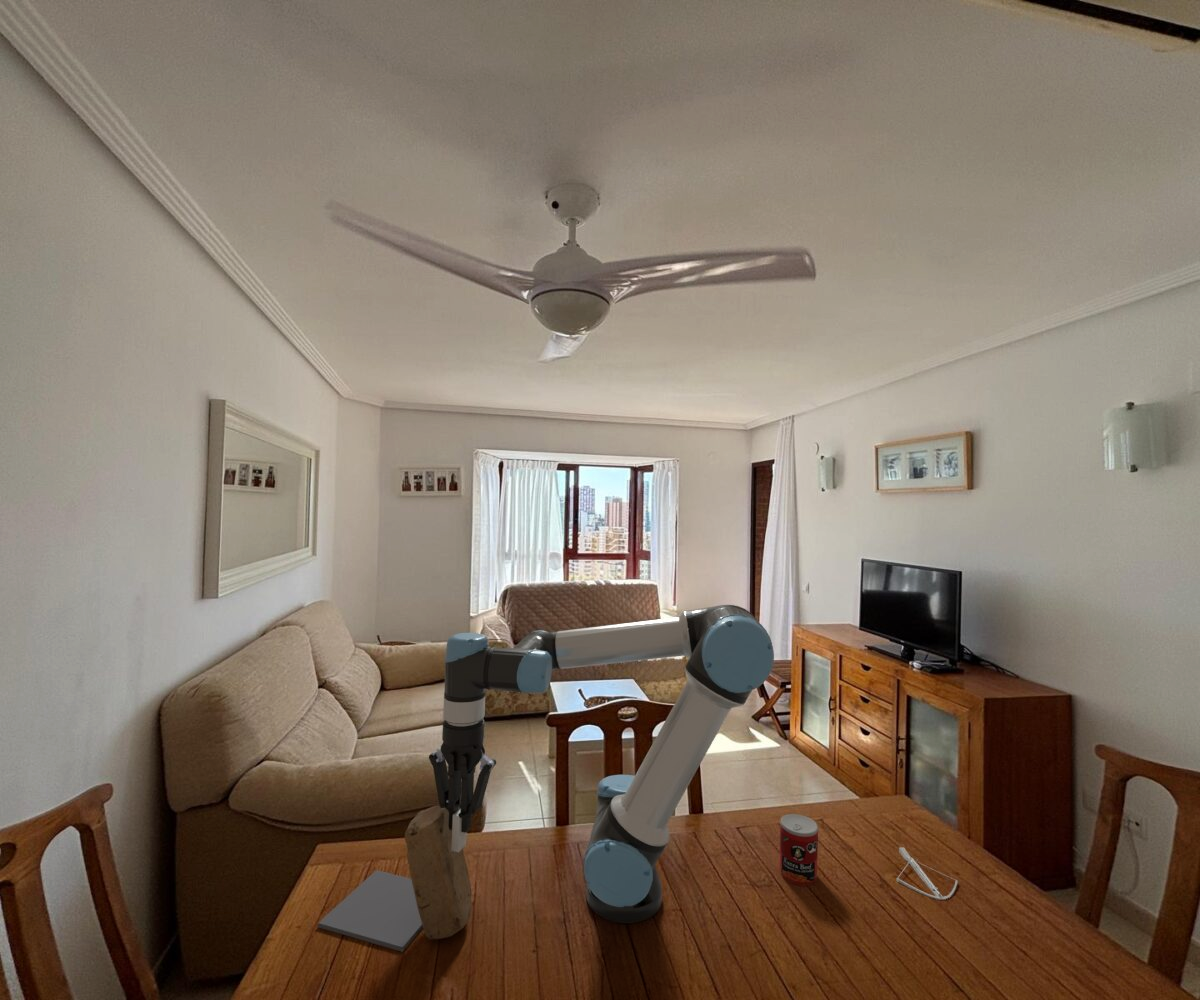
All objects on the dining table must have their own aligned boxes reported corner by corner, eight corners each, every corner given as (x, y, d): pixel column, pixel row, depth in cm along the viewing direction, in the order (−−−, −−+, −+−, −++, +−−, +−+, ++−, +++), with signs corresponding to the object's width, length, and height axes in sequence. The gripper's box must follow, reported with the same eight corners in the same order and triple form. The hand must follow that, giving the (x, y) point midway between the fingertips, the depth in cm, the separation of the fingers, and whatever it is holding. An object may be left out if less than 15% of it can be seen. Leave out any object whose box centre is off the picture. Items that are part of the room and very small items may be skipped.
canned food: (778, 880, 120) (779, 828, 120) (781, 859, 127) (782, 810, 128) (816, 890, 117) (817, 837, 117) (817, 868, 125) (818, 818, 125)
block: (462, 938, 99) (436, 824, 100) (421, 947, 99) (395, 833, 100) (479, 897, 110) (455, 794, 111) (443, 905, 110) (419, 803, 111)
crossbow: (972, 907, 115) (973, 897, 115) (910, 904, 116) (910, 895, 116) (928, 854, 131) (929, 845, 131) (873, 852, 132) (874, 843, 132)
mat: (452, 892, 114) (452, 888, 114) (402, 951, 98) (402, 947, 98) (376, 873, 119) (376, 870, 119) (318, 927, 103) (318, 922, 103)
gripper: (505, 716, 107) (500, 843, 106) (444, 707, 110) (439, 829, 110) (486, 731, 99) (480, 867, 99) (421, 721, 103) (416, 851, 103)
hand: (458, 847), depth 104 cm, fingers closed
